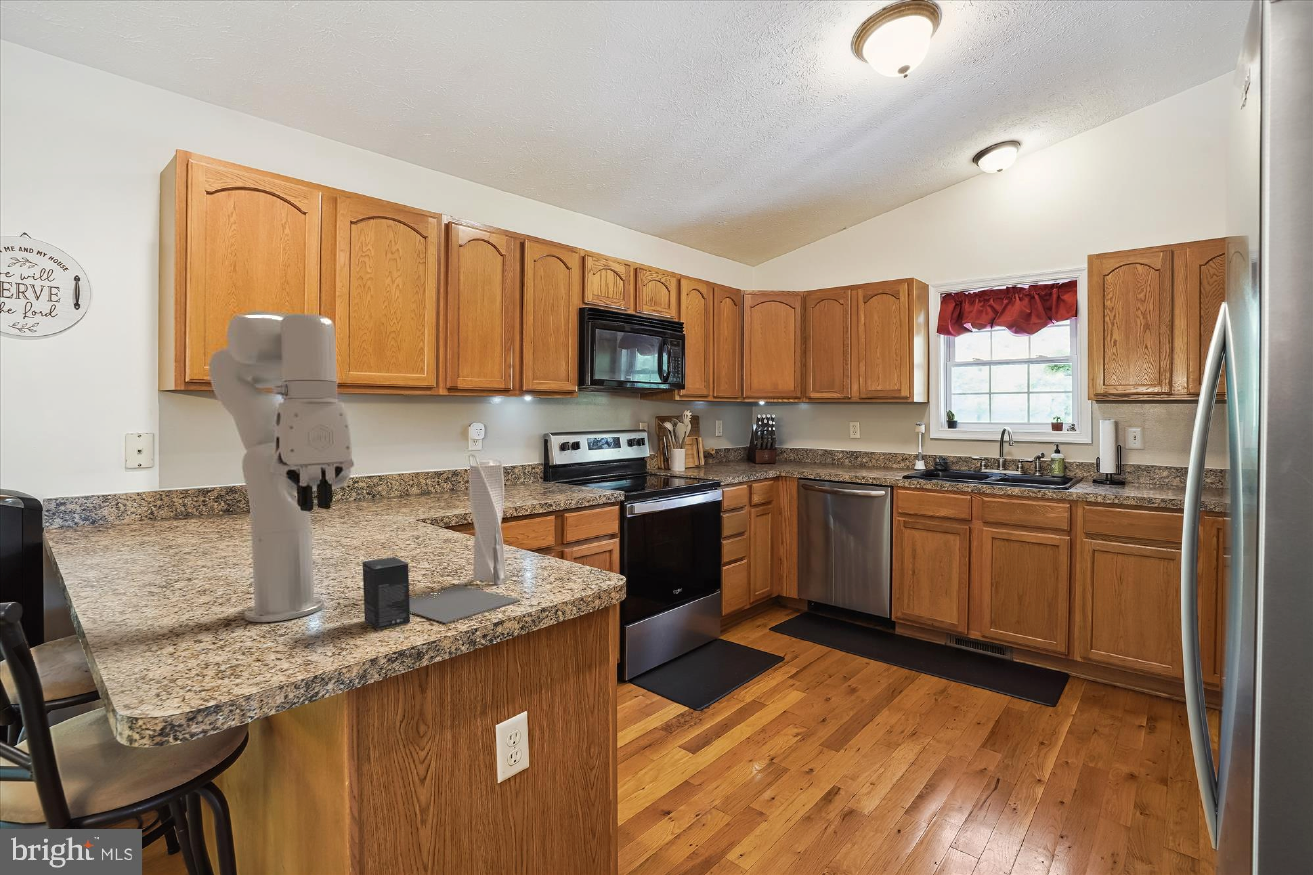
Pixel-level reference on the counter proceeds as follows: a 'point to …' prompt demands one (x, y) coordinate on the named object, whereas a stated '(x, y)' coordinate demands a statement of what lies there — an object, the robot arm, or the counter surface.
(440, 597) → the mat
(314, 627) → the counter surface
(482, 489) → the skyscraper
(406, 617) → the box
